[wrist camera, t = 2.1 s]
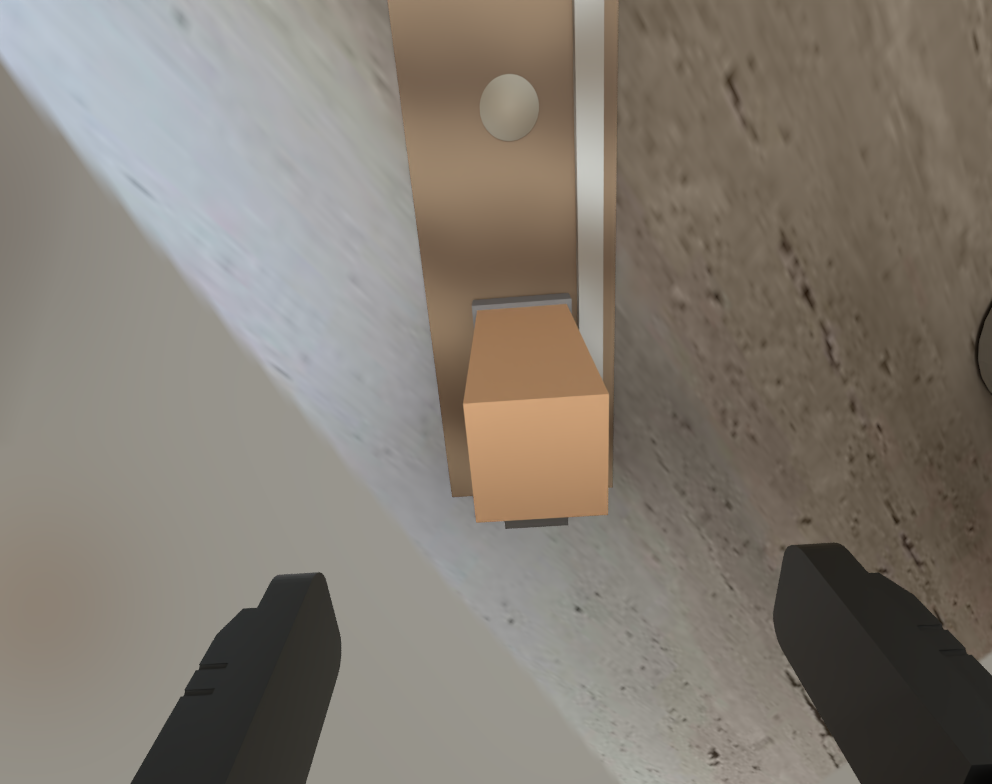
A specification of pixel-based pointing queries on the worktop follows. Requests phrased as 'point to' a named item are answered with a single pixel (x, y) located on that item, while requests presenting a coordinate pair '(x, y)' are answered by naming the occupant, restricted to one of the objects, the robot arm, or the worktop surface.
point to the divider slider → (534, 413)
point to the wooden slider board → (510, 174)
